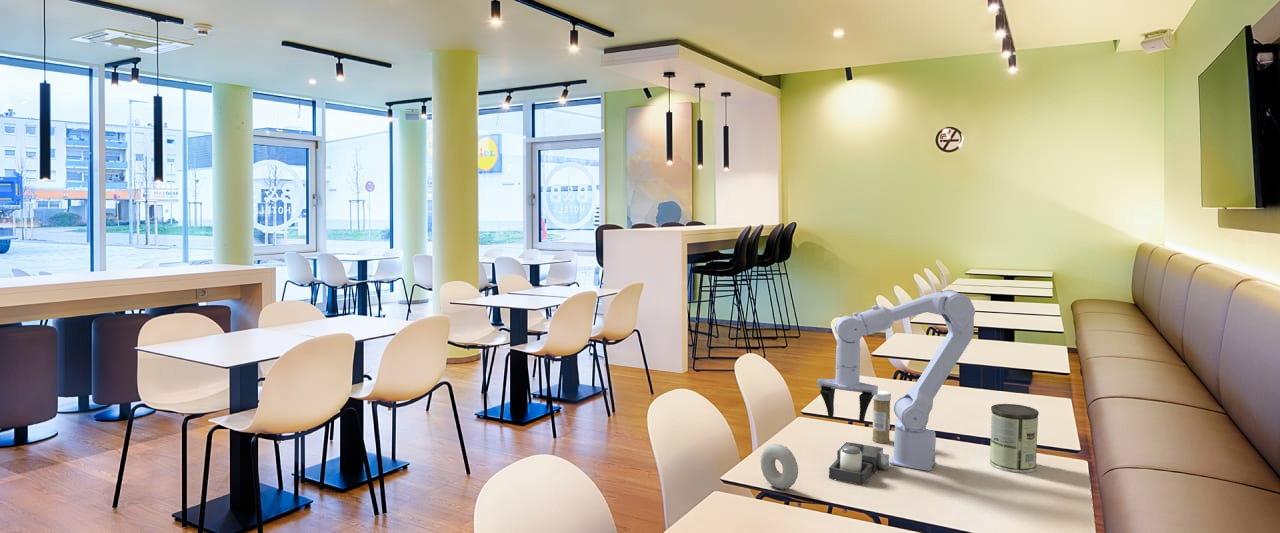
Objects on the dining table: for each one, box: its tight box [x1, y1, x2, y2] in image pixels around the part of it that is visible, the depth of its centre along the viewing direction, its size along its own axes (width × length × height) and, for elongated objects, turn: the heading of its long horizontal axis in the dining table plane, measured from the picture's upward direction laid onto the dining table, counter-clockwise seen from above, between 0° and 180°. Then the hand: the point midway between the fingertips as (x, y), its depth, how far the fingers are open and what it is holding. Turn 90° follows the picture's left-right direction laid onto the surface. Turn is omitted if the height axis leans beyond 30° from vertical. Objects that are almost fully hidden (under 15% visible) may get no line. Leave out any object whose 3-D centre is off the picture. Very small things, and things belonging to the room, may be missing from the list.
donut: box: [760, 443, 799, 490], centre depth 165 cm, size 10×4×10 cm, turn 38°
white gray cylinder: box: [840, 445, 862, 473], centre depth 172 cm, size 5×5×7 cm
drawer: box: [836, 441, 890, 475], centre depth 179 cm, size 11×8×5 cm
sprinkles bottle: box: [872, 390, 892, 444], centre depth 198 cm, size 5×5×14 cm
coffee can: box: [989, 403, 1040, 474], centre depth 179 cm, size 10×10×14 cm
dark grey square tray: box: [828, 458, 873, 485], centre depth 173 cm, size 8×9×2 cm
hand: (846, 419), depth 183 cm, fingers open, 7 cm apart
